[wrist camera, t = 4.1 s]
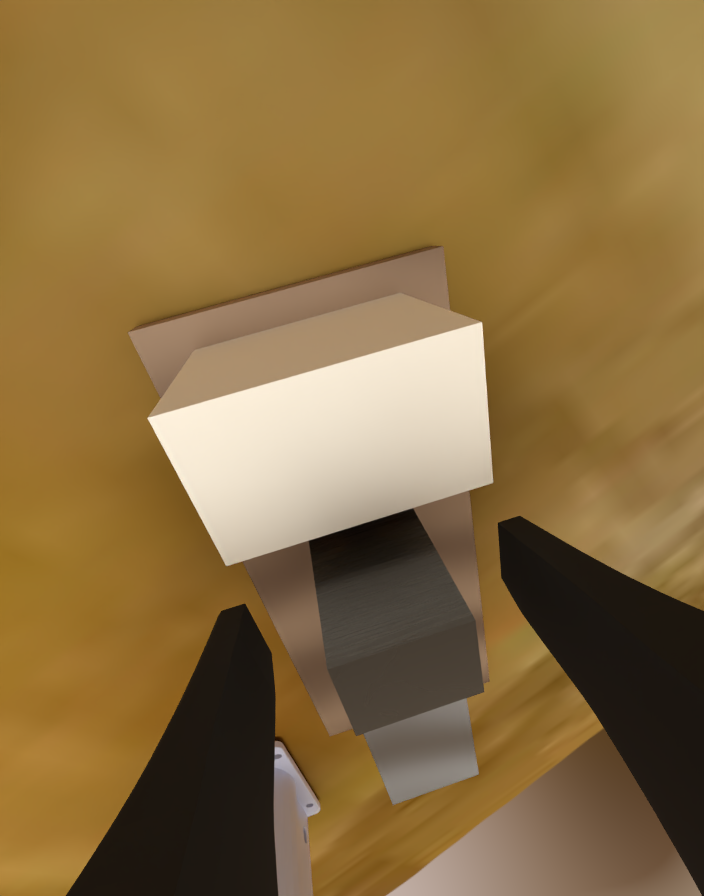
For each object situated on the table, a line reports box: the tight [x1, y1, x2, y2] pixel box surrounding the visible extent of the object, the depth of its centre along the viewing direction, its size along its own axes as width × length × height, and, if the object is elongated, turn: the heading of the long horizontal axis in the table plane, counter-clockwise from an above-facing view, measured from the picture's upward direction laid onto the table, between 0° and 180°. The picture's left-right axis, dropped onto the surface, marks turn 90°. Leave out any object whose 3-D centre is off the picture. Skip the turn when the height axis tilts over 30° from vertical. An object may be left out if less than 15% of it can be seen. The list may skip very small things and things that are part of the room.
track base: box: [128, 246, 489, 805], centre depth 17 cm, size 24×10×5 cm, turn 13°
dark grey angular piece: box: [309, 508, 484, 736], centre depth 13 cm, size 14×3×8 cm, turn 13°
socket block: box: [148, 293, 493, 566], centre depth 11 cm, size 4×7×6 cm, turn 103°
